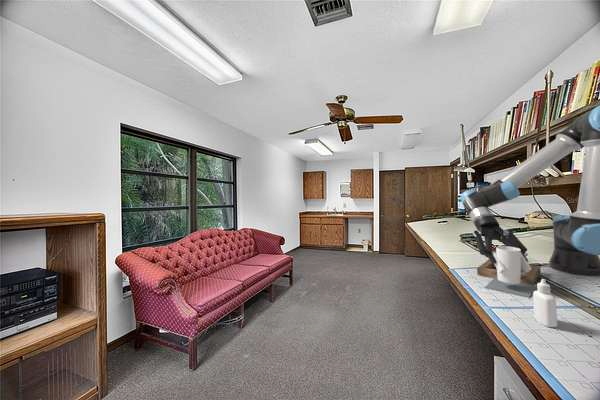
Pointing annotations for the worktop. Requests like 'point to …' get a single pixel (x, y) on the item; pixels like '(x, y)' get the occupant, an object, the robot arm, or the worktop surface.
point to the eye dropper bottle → (544, 305)
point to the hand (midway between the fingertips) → (515, 270)
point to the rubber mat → (511, 288)
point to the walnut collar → (524, 279)
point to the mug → (509, 264)
